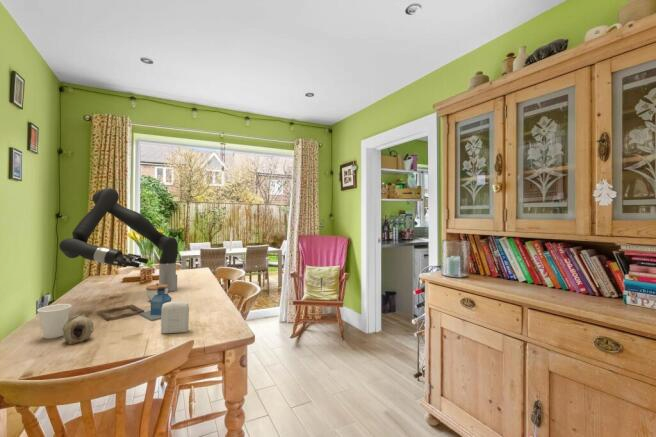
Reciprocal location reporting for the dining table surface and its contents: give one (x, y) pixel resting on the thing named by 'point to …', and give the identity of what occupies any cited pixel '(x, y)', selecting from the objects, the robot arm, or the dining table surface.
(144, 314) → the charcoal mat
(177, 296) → the dining table surface
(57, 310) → the cup
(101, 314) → the walnut collar
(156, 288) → the lidded jar
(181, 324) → the photo printer
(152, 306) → the perfume bottle
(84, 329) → the hollow beige lump
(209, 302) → the dining table surface
